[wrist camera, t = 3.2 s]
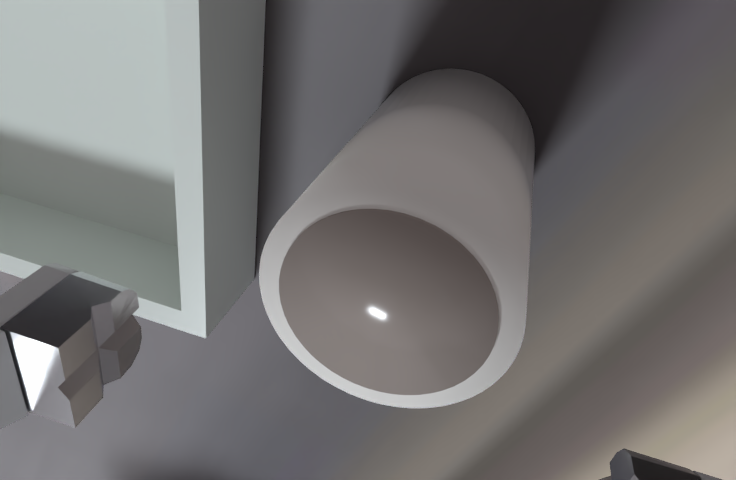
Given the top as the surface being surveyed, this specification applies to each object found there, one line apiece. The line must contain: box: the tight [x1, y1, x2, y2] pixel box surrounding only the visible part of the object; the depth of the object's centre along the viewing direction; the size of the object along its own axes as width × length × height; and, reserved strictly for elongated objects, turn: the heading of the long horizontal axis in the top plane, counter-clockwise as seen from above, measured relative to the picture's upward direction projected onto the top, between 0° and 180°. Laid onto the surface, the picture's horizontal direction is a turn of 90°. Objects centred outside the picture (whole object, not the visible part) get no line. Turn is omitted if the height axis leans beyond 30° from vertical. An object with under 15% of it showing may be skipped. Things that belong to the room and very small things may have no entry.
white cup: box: [259, 69, 535, 408], centre depth 15 cm, size 6×6×9 cm
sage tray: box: [0, 0, 266, 338], centre depth 19 cm, size 16×16×4 cm
